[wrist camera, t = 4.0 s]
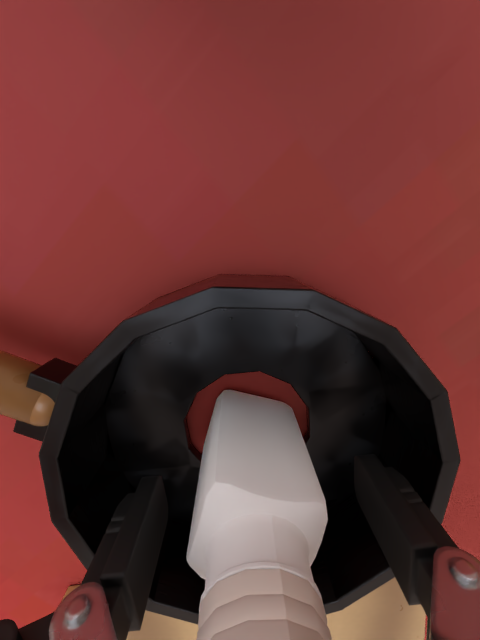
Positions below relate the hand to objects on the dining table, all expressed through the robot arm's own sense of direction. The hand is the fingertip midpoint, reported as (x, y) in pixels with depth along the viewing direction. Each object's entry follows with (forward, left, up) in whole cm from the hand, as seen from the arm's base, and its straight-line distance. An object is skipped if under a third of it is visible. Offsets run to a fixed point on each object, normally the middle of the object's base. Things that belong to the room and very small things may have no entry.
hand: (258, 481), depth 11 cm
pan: (-6, -2, -3) cm, 7 cm away
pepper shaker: (0, 0, -4) cm, 4 cm away
